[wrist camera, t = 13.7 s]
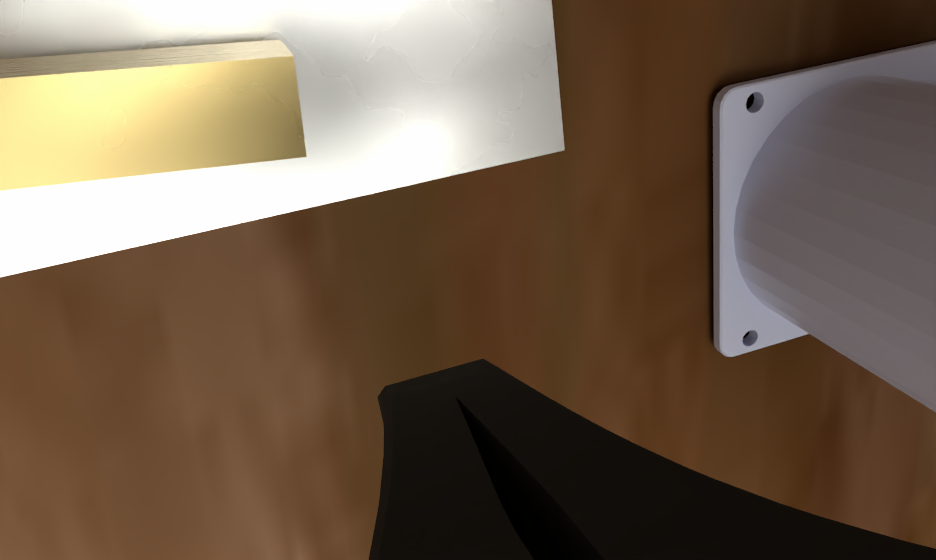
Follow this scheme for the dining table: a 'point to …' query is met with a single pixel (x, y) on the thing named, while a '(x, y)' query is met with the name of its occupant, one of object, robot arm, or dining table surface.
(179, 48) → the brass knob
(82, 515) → the dining table surface
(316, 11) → the levelling plate
